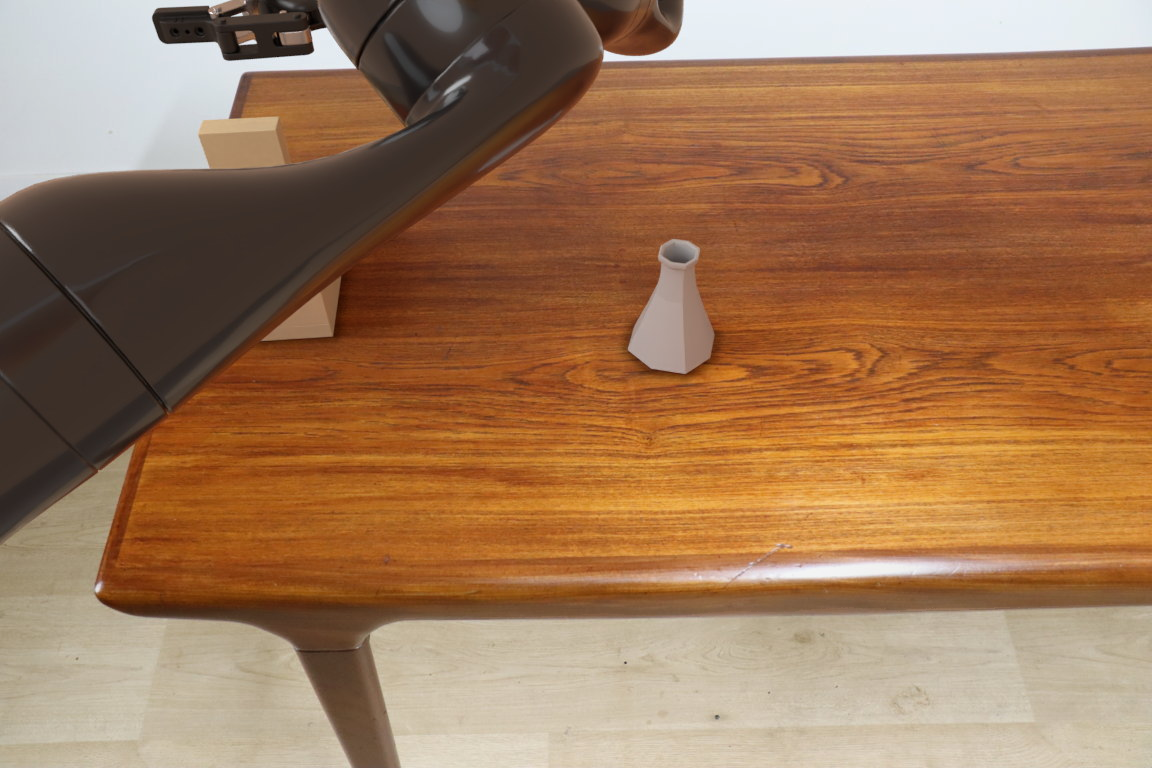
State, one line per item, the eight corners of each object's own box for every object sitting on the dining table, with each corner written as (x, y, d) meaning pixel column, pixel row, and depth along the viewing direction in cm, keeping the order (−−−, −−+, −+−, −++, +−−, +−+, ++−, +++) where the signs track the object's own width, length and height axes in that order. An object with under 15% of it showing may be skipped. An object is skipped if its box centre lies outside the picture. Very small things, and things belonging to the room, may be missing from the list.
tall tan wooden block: (319, 263, 85) (279, 115, 74) (317, 278, 84) (276, 129, 73) (252, 267, 85) (202, 119, 74) (248, 282, 84) (197, 133, 73)
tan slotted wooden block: (333, 336, 81) (318, 283, 77) (222, 343, 81) (200, 290, 76) (347, 229, 91) (335, 176, 87) (249, 234, 91) (232, 182, 87)
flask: (690, 387, 77) (700, 294, 69) (612, 354, 79) (614, 262, 72) (728, 334, 81) (742, 241, 74) (653, 304, 84) (660, 212, 76)
